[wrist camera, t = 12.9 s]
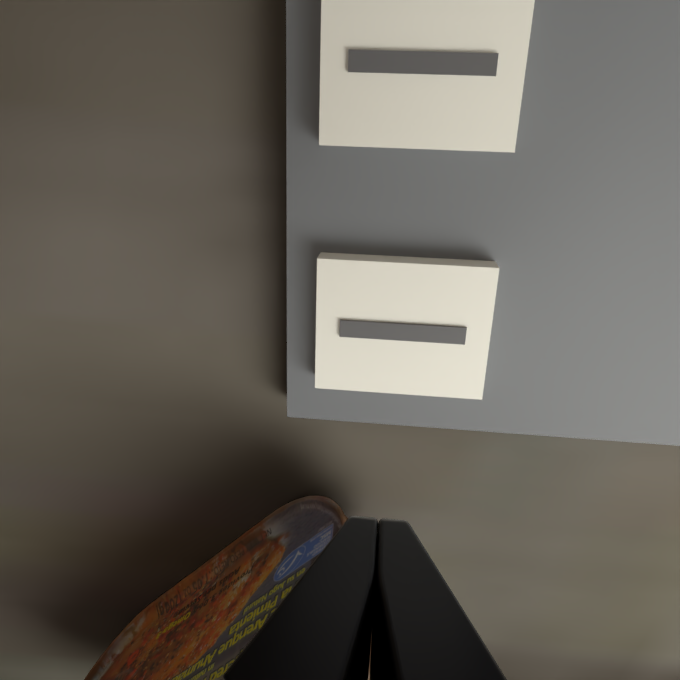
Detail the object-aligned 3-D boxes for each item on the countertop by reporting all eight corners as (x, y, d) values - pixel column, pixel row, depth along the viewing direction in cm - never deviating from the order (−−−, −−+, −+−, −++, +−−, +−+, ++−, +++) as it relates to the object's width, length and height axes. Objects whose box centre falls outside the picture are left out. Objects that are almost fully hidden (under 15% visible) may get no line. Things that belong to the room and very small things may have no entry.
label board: (293, 399, 20) (259, 489, 15) (294, -316, 14) (236, -552, 9) (717, 430, 19) (822, 536, 14) (945, -332, 13) (1288, -611, 8)
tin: (348, 454, 21) (319, 657, 13) (406, 512, 22) (409, 737, 14) (93, 642, 26) (-41, 875, 18) (147, 685, 26) (40, 928, 18)
